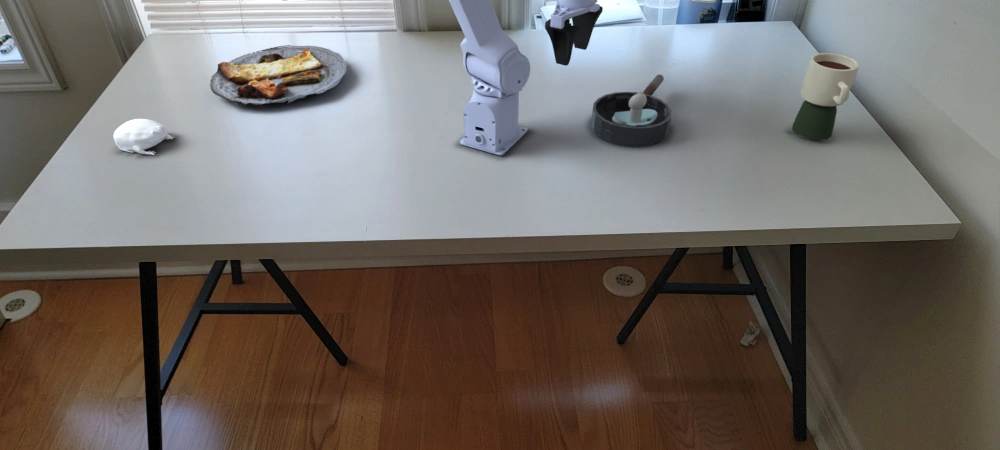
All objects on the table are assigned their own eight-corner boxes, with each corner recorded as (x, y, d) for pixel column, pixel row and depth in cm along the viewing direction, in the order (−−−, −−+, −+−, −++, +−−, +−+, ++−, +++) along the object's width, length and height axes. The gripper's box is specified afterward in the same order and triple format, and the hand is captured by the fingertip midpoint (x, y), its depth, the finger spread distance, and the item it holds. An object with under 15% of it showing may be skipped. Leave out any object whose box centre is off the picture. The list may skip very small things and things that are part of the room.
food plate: (218, 122, 112) (213, 103, 110) (207, 70, 129) (202, 53, 127) (360, 95, 120) (358, 77, 118) (332, 49, 137) (330, 33, 135)
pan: (654, 154, 104) (657, 135, 102) (579, 135, 109) (580, 116, 107) (677, 120, 113) (681, 102, 111) (607, 103, 118) (609, 85, 116)
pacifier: (605, 118, 113) (618, 134, 108) (608, 84, 109) (622, 99, 105) (644, 113, 114) (659, 129, 110) (649, 80, 111) (664, 94, 106)
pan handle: (646, 104, 114) (647, 96, 113) (637, 102, 114) (638, 94, 113) (664, 82, 121) (665, 74, 120) (655, 80, 121) (657, 72, 120)
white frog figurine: (179, 136, 108) (172, 116, 106) (154, 157, 103) (146, 136, 101) (137, 131, 110) (129, 111, 107) (110, 151, 104) (101, 131, 102)
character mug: (846, 150, 105) (875, 75, 97) (803, 151, 105) (828, 76, 97) (816, 118, 114) (840, 47, 106) (777, 119, 114) (797, 48, 106)
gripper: (582, -9, 97) (575, 76, 105) (617, -34, 107) (609, 45, 115) (540, -16, 100) (536, 67, 108) (578, -40, 110) (572, 38, 118)
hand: (571, 55), depth 112 cm, fingers open, 7 cm apart
